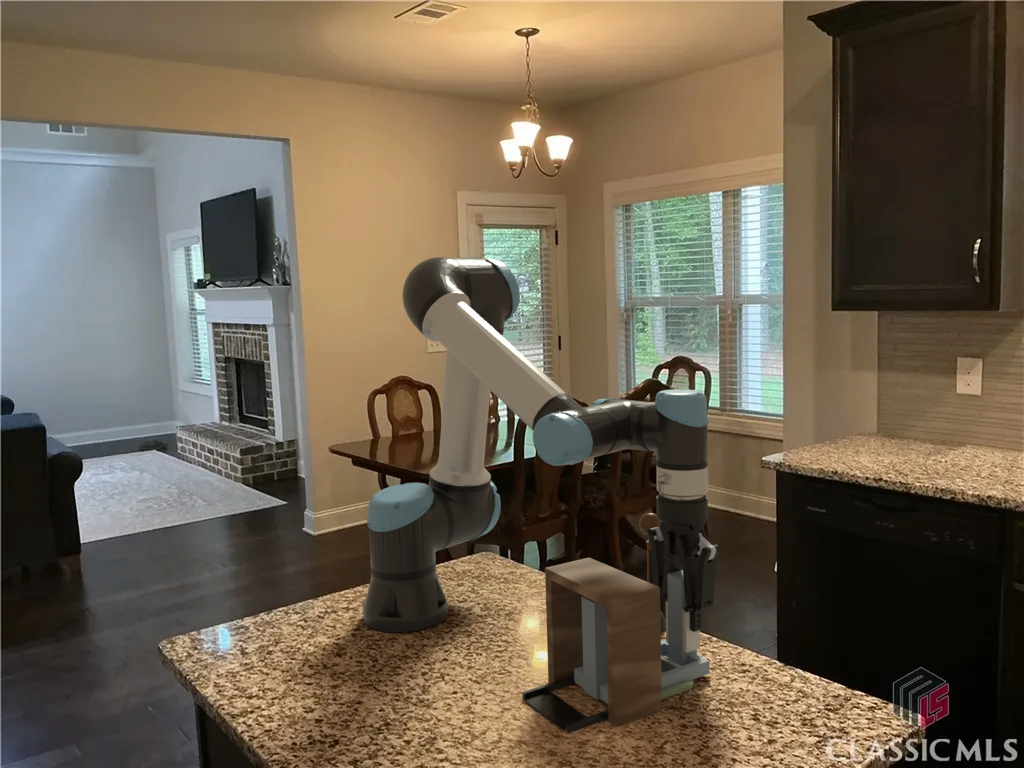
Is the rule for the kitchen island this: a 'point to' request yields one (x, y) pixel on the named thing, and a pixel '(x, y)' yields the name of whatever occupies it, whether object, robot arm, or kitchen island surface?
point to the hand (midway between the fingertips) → (682, 645)
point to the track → (567, 714)
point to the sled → (679, 662)
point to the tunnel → (608, 633)
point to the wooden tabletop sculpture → (647, 523)
